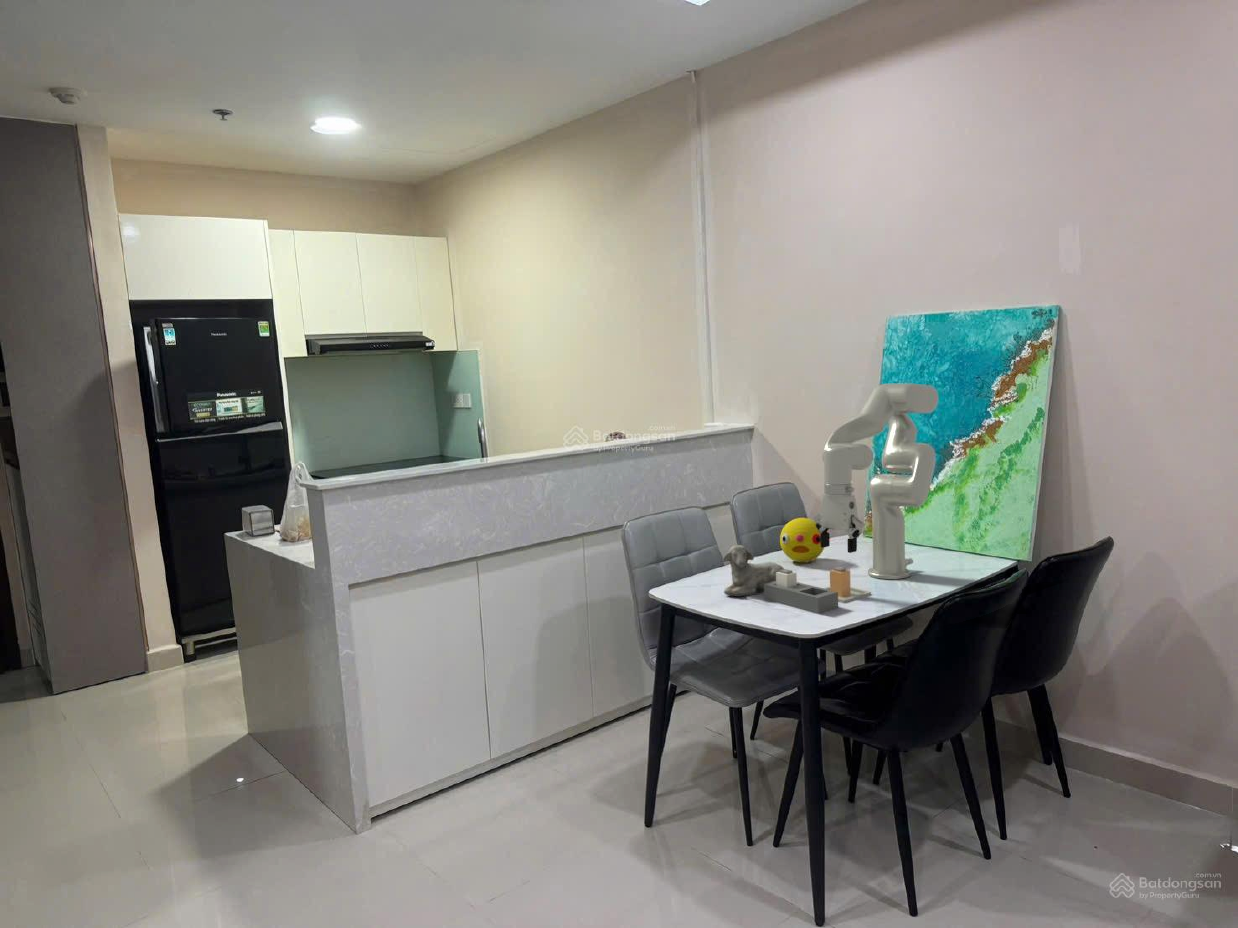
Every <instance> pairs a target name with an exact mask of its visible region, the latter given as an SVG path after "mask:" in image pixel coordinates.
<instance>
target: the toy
mask: <svg viewBox="0 0 1238 928" xmlns="http://www.w3.org/2000/svg"><path fill="white" fill-rule="evenodd" d="M784 525H785V526H783V528H782V530H781V532H780V536H779V543H780V547H781V549H782V551H783V553H784V554H785V556H786V557H788V558H789V559H790V560H792V561H795V562H796V563H809V562H812V561H814V560H817V558H818V557H820V556H821V554H822V553H823V551H824V550H825V547H824V548H821V542H820V534H819V532H818V531H819V530H818V529H817V528H816V524H815V522H814V519H811V518H806V517H798V518H794V519H792V520H790V521H789V522H787V523H786V524H784Z"/></svg>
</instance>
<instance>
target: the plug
mask: <svg viewBox="0 0 1238 928" xmlns="http://www.w3.org/2000/svg"><path fill="white" fill-rule="evenodd" d="M829 586H830V590H832V591H836V592H838V596H839V597H844V596H847V595H850V594H851V590H850V587H851V570H849V569H847V568H845V567H841V566H837V567H835V568H833V569H831V570H829Z"/></svg>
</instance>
